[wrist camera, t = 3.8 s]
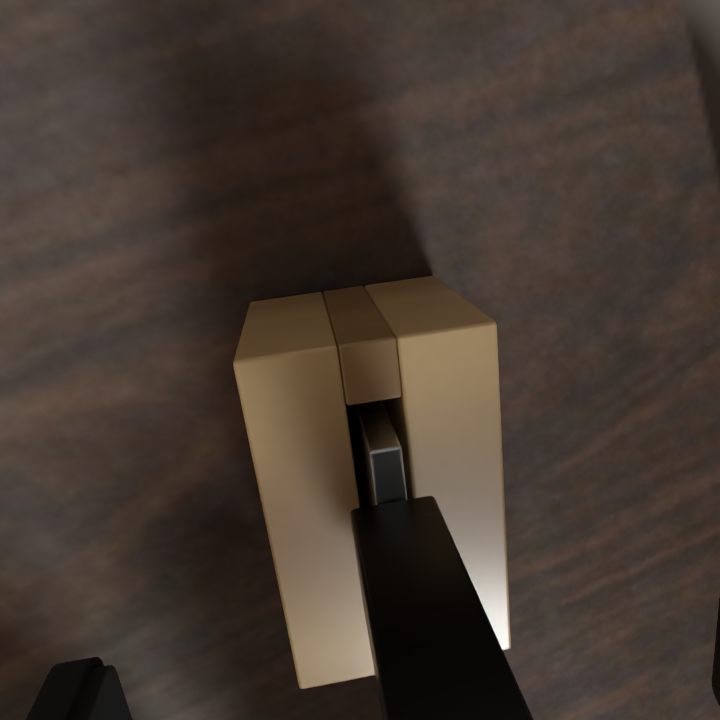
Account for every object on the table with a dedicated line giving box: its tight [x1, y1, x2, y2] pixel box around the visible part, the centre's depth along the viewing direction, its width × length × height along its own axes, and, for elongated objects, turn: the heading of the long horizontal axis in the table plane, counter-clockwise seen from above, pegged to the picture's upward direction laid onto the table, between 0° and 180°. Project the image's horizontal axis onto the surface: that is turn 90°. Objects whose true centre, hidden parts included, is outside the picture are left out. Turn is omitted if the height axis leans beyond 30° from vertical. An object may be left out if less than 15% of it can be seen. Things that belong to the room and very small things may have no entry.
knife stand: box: [233, 276, 511, 689], centre depth 14 cm, size 8×5×5 cm, turn 7°
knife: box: [348, 400, 533, 720], centre depth 11 cm, size 4×2×12 cm, turn 7°
